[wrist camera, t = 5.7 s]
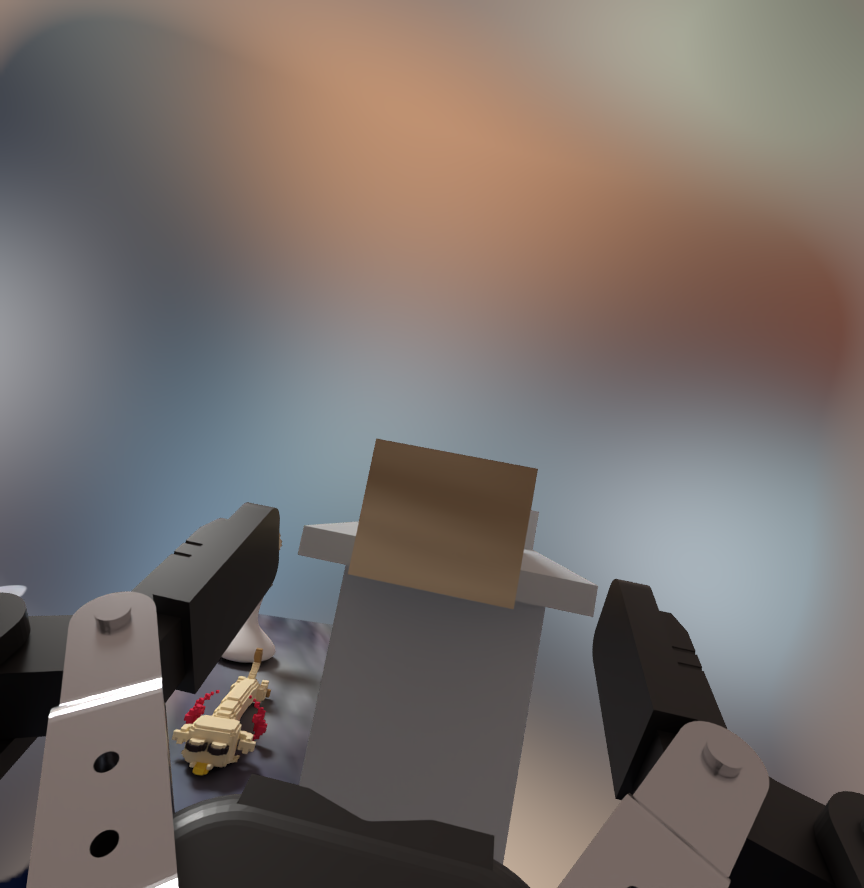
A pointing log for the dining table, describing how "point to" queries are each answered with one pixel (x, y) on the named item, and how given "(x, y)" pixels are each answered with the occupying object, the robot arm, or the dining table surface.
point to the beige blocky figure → (224, 724)
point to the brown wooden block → (444, 523)
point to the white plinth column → (429, 692)
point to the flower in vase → (250, 639)
